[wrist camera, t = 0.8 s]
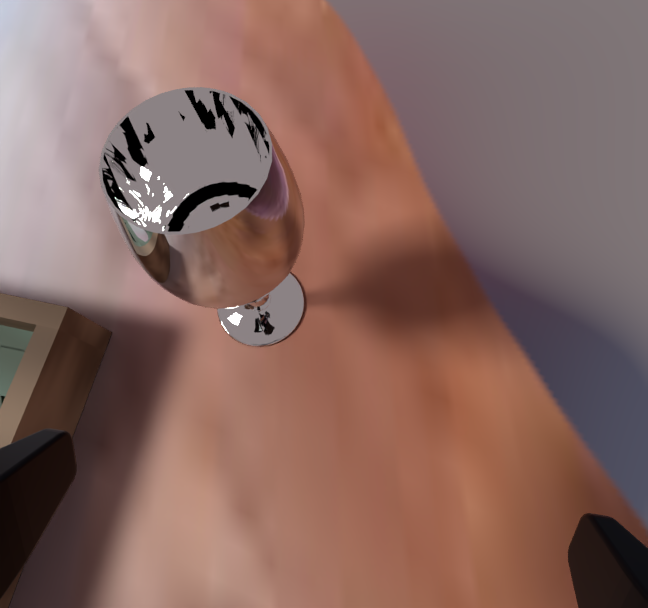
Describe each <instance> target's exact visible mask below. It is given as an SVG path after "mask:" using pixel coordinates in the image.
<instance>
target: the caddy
mask: <svg viewBox="0 0 648 608" xmlns="http://www.w3.org/2000/svg"><path fill="white" fill-rule="evenodd" d="M111 334H112V332H110V331H108V330H107V329H105V328H103V327H101V326H100V325H98V324H96V323H94V322H93V321H91V320H89V319H87V318H86V317H84V316H82V315H80V314H79V313H77V312H75V311H73V310H72V309H70V308H68V307H64V306H60V305H55V304H50V303H45V302H40V301H36V300H31V299H26V298H21V297H17V296H12V295H7V294H2V293H0V448H2V447H4V446H7V445H9V444H11V443H13V442H16V441H18V440H20V439H23V438H25V437H27V436H29V435H32V434H34V433H36V432H38V431H41V430H43V429H47V428H51V429H58V430H64V431H67V432H69V433H70V434H71V436H72V437H73V434H74V432H75V429H76V427H77V424H78V421H79V419H80V416H81V413H82V411H83V408H84V405H85V403H86V400H87V397H88V395H89V392H90V389H91V387H92V384H93V382H94V379H95V376H96V374H97V371H98V368H99V366H100V363H101V360H102V358H103V355H104V352H105V350H106V347H107V344H108V342H109V339H110V337H111ZM23 567H24V566H23ZM22 569H23V568H22ZM22 569H21V571H20V572H19V574H18V575H17V577H16V578H15V579H14V581H13V582H12V584H11V585H10V587H9V588H8V589H7V591H6V592H5V594H4V595H3V597H2V598H1V600H0V608H8V606H9V604H10V601H11V599H12V596H13V593H14V591H15V588H16V585H17V583H18V580H19V577H20V575H21V572H22Z"/></svg>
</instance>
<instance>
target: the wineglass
mask: <svg viewBox="0 0 648 608" xmlns="http://www.w3.org/2000/svg"><path fill="white" fill-rule="evenodd" d="M99 174H100V182H101V188H102V190H103V193H104V196H105V199H106V201H107V204H108V207H109V210H110V212H111V215H112V217H113V219H114V221H115V223H116V225H117V227H118V230H119V232H120V234H121V236H122V238H123V240H124V242H125V243H126V245H127V247H128V249H129V251H130V252H131V254H132V255H133V257H134V258H135V260H136V261H137V263H138V264H139V265H140V266H141V267H142V268H143V270H144V271H145V272H146V273H147V274H148V275H149V277H150V278H151V279H152V280H153V281H154V282H156V283H157V284H158V285H159V286H160V287H162V288H163V289H164V290H166V291H168V292H169V293H171V294H173V295H174V296H176V297H178V298H180V299H181V300H183V301H186V302H188V303H191V304H193V305H197V306H202V307H206V308H214V309H217V313H218V317H219V321H220V323H221V325H222V327H223V329H224V330H225V332H226V333H227V334H228V335H229V336H230V337H231V338H233V339H234V340H236V341H237V342H240V343H242V344H245V345H248V346H257V347H261V346H268V345H272V344H275V343H277V342H280V341H281V340H283V339H284V338H286V337H287V336H289V335H290V334H291V333H292V332H293V331H294V330H295V328H296V327H297V325H298V324H299V322H300V320H301V317H302V314H303V311H304V294H303V291H302V288H301V286H300V284H299V282H298V281H297V280H296V278H295V277H294V276H293V275H292V274H291V273H290V271H291V270H292V268H293V267H294V265H295V263H296V261H297V258H298V256H299V254H300V250H301V246H302V241H303V234H304V224H305V221H304V207H303V202H302V197H301V193H300V190H299V187H298V185H297V182H296V179H295V176H294V173H293V171H292V169H291V166H290V164H289V162H288V160H287V158H286V156H285V155H284V153H283V151H282V149H281V148H280V146H279V144H278V142H277V140H276V139H275V137H274V135H273V134H272V132H271V131H270V129H269V128H268V126H267V125H266V123H265V122H264V121H263V119H262V118H261V116H260V115H259V113H257V112H256V111H255V110H254V109H253V108H252V107H251V106H250V105H249V104H248V103H247V102H245V101H243V100H241V99H239V98H238V97H236V96H234V95H232V94H230V93H227V92H224V91H221V90H216V89H211V88H202V87H200V88H183V89H176V90H172V91H169V92H165V93H162V94H159V95H157V96H154V97H152V98H150V99H148V100H146V101H144V102H143V103H141V104H140V105H138V106H136V107H135V108H133V109H132V110H131V111H130V112H129V113H127V114H126V115H125V116H124V117H123V118H122V119H121V120H120V121H119V122H118V123H117V125H116V126H115V128H114V129H113V130H112V132H111V133H110V134H109V136H108V138H107V141H106V143H105V145H104V148H103V150H102V153H101V159H100V166H99Z"/></svg>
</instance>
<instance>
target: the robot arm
mask: <svg viewBox="0 0 648 608" xmlns="http://www.w3.org/2000/svg"><path fill="white" fill-rule="evenodd" d="M76 469H77V464H76V458H75V452H74V445H73V439H72V436H71V434H70V433H69V432H67V431H64V430H58V429H51V428H47V429H43V430H41V431H38V432H36V433H34V434H32V435H29V436H27V437H25V438H23V439H20V440H18V441H16V442H13V443H11V444H9V445H7V446H4V447H2V448H0V600H1V598H2V597H3V595H4V594H5V592H6V591H7V589H8V588H9V587H10V585H11V584H12V582H13V581H14V579H15V578H16V577H17V575H18V574H19V572H20V571H21V569H22V568H23V566H24V565H25V563H26V562H27V560H28V558H29V557H30V555H31V553H32V552H33V550H34V548H35V547H36V545H37V543H38V541H39V540H40V538H41V536H42V534H43V533H44V531H45V529H46V527H47V526H48V524H49V522H50V520H51V519H52V517H53V515H54V513H55V512H56V510H57V508H58V506H59V505H60V503H61V501H62V499H63V498H64V496H65V494H66V492H67V490H68V489H69V487H70V485H71V483H72V482H73V480H74V477H75V475H76ZM568 562H569V567H570V572H571V576H572V581H573V585H574V590H575V594H576V599H577V603H578V608H648V548H647V547H646V546H645V545H643V544H642V543H641V542H640V541H639V540H638V539H637V538H635V537H634V536H633V535H632V534H631V533H630V532H629V531H627V530H626V529H625V528H624V527H623V526H622V525H621V524H619V523H618V522H617V521H616V520H615V519H613V518H611V517H608V516H603V515H597V514H591V513H587V514H584V515H583V516H582V517H581V519H580V521H579V524H578V526H577V528H576V531H575V533H574V536H573V538H572V541H571V543H570V545H569V549H568Z"/></svg>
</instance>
